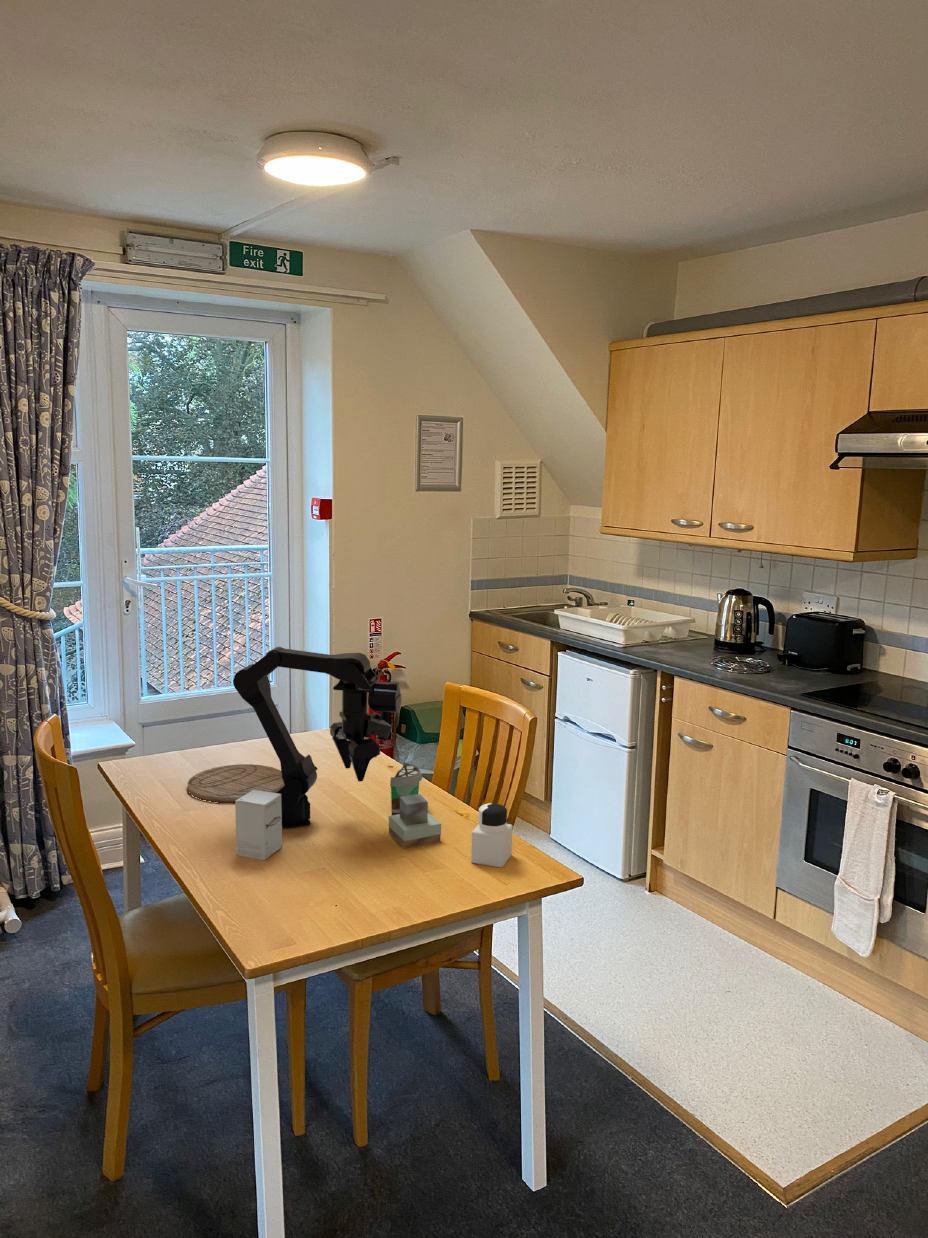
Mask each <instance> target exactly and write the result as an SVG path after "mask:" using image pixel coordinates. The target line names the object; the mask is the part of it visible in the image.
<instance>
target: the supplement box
mask: <svg viewBox="0 0 928 1238" xmlns="http://www.w3.org/2000/svg"><path fill="white" fill-rule="evenodd" d="M234 805H235V807H234V809H235V850H236V851H235V852H236V853H235V854H236V856H240V857H245V858H249V859H255V860H260V861H265V860H267V859H268V858H269V857H270V856H271V855H273V854H274V853H276V852H277V851H279V850H280V849H281V848H283V838H282V837H283V831H282V829H283V827H282V813H281V794H278V793H272V792H265V791H258V790H252V791H251V792H249V793H247V794H246V795H244V796H242V797H241V798H239V799H237V800H236V801H235V804H234Z"/></svg>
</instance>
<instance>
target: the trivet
mask: <svg viewBox="0 0 928 1238" xmlns="http://www.w3.org/2000/svg"><path fill="white" fill-rule="evenodd" d="M186 784H187V792H188V791H189V792H190V794H192V795H193V796H194V797H197V798H199V799H201V800H206V801H211V802H218V803H217V804H220V803H235V801H236V800H237V799H239V798H241V797H242V796H244V795H246V794H247V793H249V792H251V791H252V790H258V791H265V792H272V793H277V792H278V791H279V790H280V789H281V788H282V787H283V786H284V782H283V779H282V775H281V769H278V768H275V767H273V766H268V765H267V766H266V765H262V764H253V763H252V764H249V763H247V764H241V763H240V764H229V765H222V766H217V767H212V768H210V769H209V768H208V769H206V770H202V771H201V772H198V773H196V774H194V775H192V776H191V777H190V778H189V780H188V782H187V783H186ZM190 794H189V795H190ZM194 797H193V798H194ZM201 800H200V801H201Z"/></svg>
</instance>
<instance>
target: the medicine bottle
mask: <svg viewBox="0 0 928 1238" xmlns="http://www.w3.org/2000/svg"><path fill="white" fill-rule="evenodd" d="M507 820H508V809H507V808H506V806H504V805H502V804H500V803H496V802H495V803H494V802H493V803H492V802H489V803H485V804H482V805H481V806H480V807H478V823H477V825H476V827H475V828H474V829H473V830H472V831H471V848H470V849H471V852H470V853H471V854H470V855H471V856H470V857H471V858H470V859H471V863H473V864H478V865H483V866H489V867H495V868H500V869H501V868H503V867H504V866H505V865H506V863H507V862H508V861H509V859H510V858H511V856H512V855H513V854H512V853H513V824H510V823H508V821H507Z"/></svg>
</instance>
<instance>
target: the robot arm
mask: <svg viewBox="0 0 928 1238" xmlns="http://www.w3.org/2000/svg"><path fill="white" fill-rule="evenodd" d="M277 668H284V669H285V668H286V669H292V670H300V671H306V672H307V671H308V672H313V673H322V674H326V675H329V676H331V677H333V678H335V679H337V680H339V681H338V682H337V683H336V684H334V686H333V687H332V689H333V690H334V691H341V694H342V695H341V699H342V700H341V711H339V717H340V718H341V722H333V723H332V725H330V727H329V731H330V732H329V735H330V736H331V739H332V741H333V743H334V744H335V748H336V749H337V752H338V754H339V756H340V759H341V760H342V763H343V766H344V767H345V769H346V770H347V769H351V768H353V770H354V773H355V777H356V780H357V782H363V781H364V779H365V776H366V773H367V770H368V767H369V764H370V762H371V761H372V760H373V759H374V758H377V757H378V756H380V755H381V745H380V744H379V743H377V742H376V741H375V740H374V739H373V738H372V736H376V737H380V738H383V739H385V740H388V738H389V736H390V733H391V730H392V728H393V726H392V725H391V724H390V723H388V721H385V720H384V719H382V716H381V715H380V713H377V712H383V713H394V714H395V713H397V714H398V713H399V712H400V709H401V704H402V693H401V689H400V683H399V682H398V681H391V682H389V681H380V678H379V677H378V675H377V674H376V673H375V671H374V670H373V669H372V667H371V661H370V660H369V658H368V657H367V655H366V654H364V653H362V652H347V653H346V652H345V653H337V654H327V653H321V652H320V653H319V652H313V651H312V652H311V651H305V650H297V649H291V648H289V649H288V648H285V647H282V646H276V647H274V648H273V649H270V650H268V652H267V653H266V655H264V656H262V658H260V659H258V661H257V662H255V663H251V664H249V665H246V667H244V668H242V669H240V670H238V671H237V672H236V673H235V675H234V677H233V680H232V683H233V687H234V688H235V691H236V692H237V694H239V696H240V697H241V698H242V699H243V701H245V703H247V704H248V705H249V706H250V707H251V708H252V709H253V710H254V712H255V714H256V716H257V718H258V721H259V722H260V724H261V726H262V728H263V730H264V732H265V734H266V736H267V738H268V741H269V743H270V744H271V745H272V748H273V750H274V752H275V754H276V756H277V759H278V760H279V762H280V771H281V775H282V779H283V782H284V786H283V787H282V788H281V789H280V790H279V791H278V792H277V793H278V794H281V813H282V829H291V828H296V827H297V828H298V827H303V826H309V825H311V821H310V819H311V802H310V801H309V799H308V798H309V797H308V796H307V795H306V794H307V793H308V792H309V791H310V789H311V788H312V787H313V786H314V784H315V783H316V782H317V778H318V773H317V771H318V770H319V769H318V767H317V766H316V765H315V764H314V762H313V759H312V756H311V755H310V754H308V755H306V756H304V755H303V754H302V753H301V752H299V750H298V748H297V746H296V744H295V742H294V740H293V738H292V736H291V734H290V733H289V730H288V728H287V726H286V723H285V722H284V720H283V718H282V716H281V714H280V711H278V708H277V706H276V704H275V703H274V700H273V698H272V690H271V683H270V682H271V681H270V679H269V676H270V674H271V673H273V671H275V670H276V669H277ZM368 706H369V709H372V711H374V712H372V713H371V714H369V713H368ZM351 766H352V767H351Z"/></svg>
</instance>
